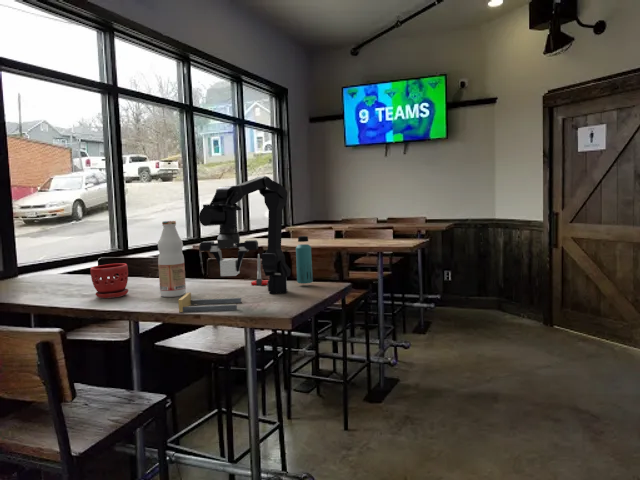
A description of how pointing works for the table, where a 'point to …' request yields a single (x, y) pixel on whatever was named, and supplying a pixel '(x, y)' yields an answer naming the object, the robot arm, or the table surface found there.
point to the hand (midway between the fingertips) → (230, 271)
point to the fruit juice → (171, 262)
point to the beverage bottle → (304, 261)
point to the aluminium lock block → (229, 267)
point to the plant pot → (110, 280)
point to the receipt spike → (259, 275)
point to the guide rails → (186, 302)
